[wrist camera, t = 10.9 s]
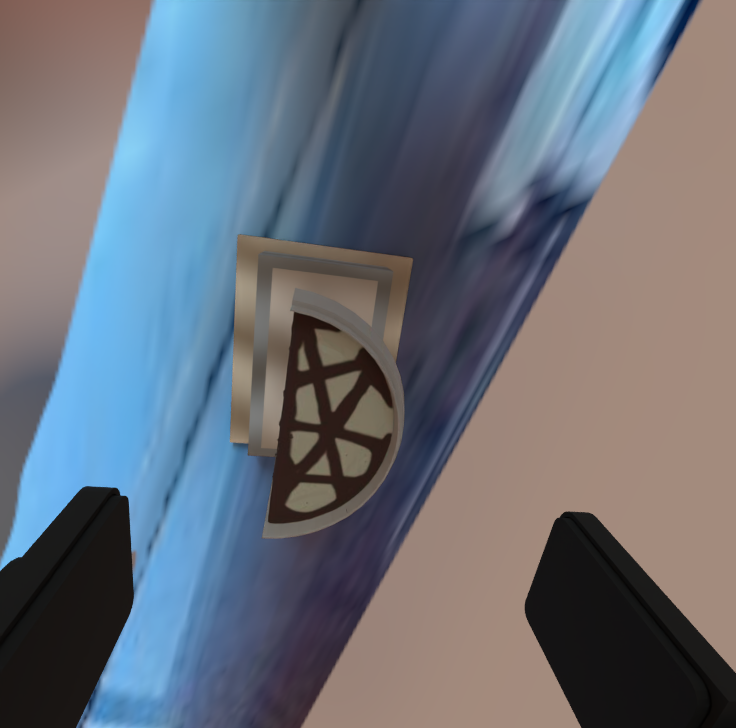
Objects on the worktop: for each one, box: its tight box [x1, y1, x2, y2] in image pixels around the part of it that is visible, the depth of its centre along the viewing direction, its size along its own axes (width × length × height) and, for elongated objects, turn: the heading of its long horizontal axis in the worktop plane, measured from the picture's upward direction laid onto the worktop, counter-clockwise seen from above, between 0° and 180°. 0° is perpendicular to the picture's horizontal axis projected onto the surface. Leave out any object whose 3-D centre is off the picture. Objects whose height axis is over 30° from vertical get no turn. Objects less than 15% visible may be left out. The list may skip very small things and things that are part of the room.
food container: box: [262, 288, 404, 538], centre depth 23 cm, size 12×6×10 cm, turn 170°
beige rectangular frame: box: [230, 234, 413, 457], centre depth 30 cm, size 16×12×4 cm
